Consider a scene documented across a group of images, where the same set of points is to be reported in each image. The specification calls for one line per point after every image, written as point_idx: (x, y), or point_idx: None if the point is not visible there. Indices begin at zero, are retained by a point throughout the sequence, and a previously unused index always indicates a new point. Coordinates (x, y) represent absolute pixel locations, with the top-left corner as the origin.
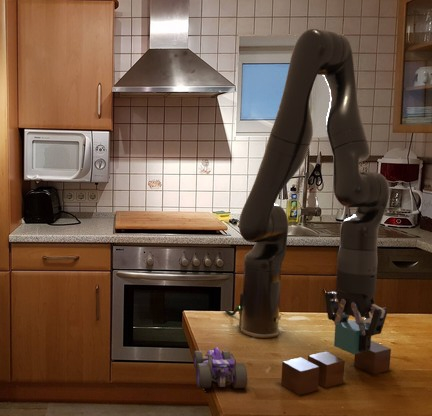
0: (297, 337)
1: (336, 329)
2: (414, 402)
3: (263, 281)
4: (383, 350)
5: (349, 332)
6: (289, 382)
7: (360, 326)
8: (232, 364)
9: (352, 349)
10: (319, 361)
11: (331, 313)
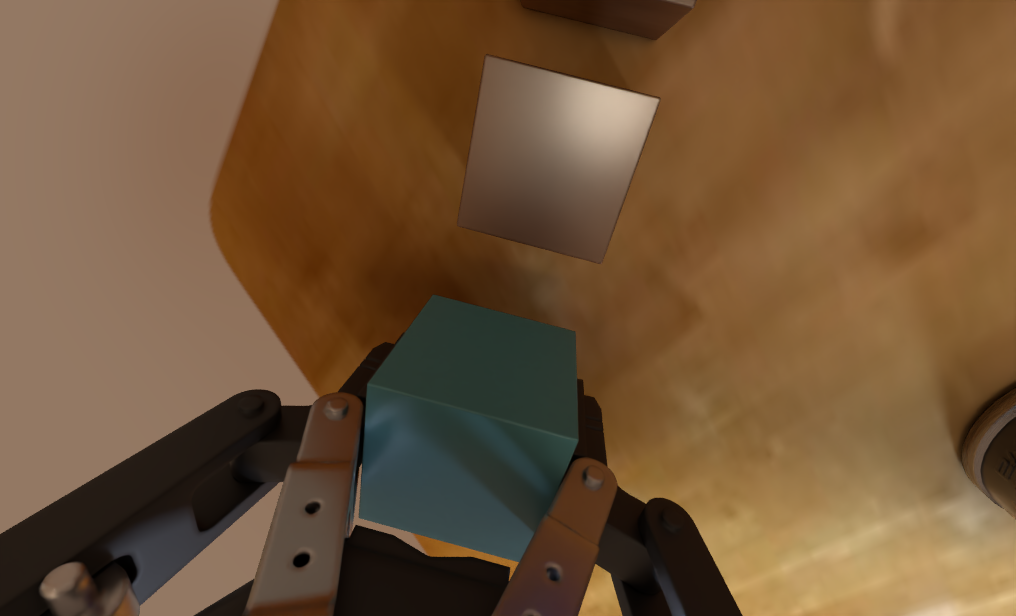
0: (851, 479)
1: (561, 401)
2: (257, 258)
3: None
4: None
5: (432, 381)
6: None
7: (335, 449)
8: None
9: (433, 308)
10: (552, 72)
11: (666, 559)
